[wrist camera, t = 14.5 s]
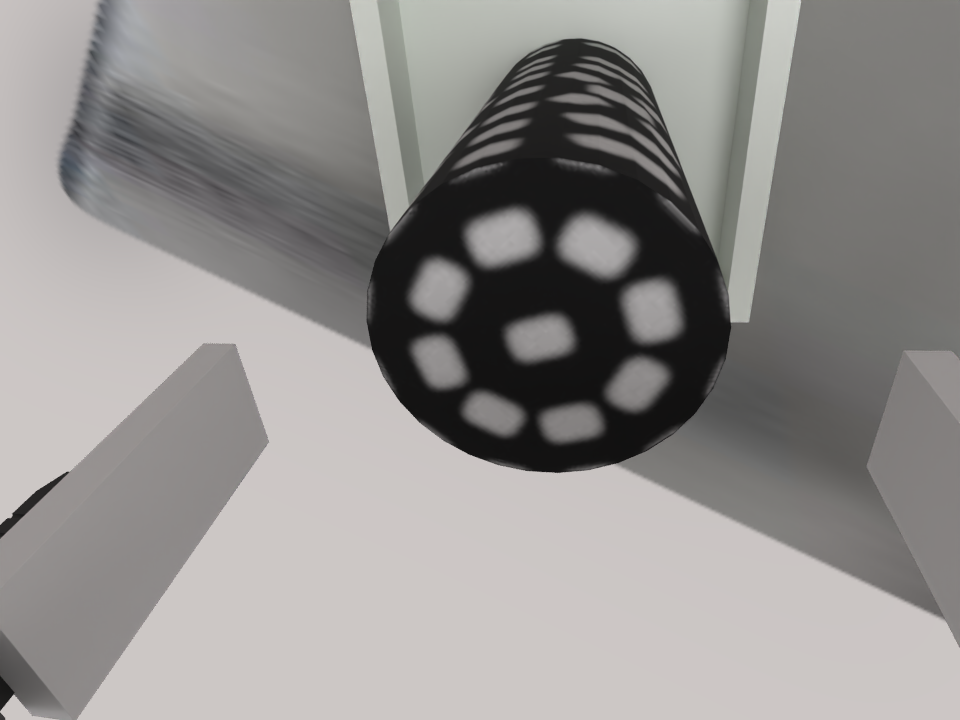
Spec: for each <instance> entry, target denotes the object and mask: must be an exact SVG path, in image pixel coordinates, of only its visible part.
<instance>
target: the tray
mask: <svg viewBox="0 0 960 720" xmlns="http://www.w3.org/2000/svg"><path fill="white" fill-rule="evenodd" d="M349 1H350V7H351V12H352V18H353V24H354V29H355V35H356V41H357V46H358V52H359V58H360V63H361V69H362V75H363V80H364V86H365V92H366V97H367V103H368V109H369V114H370V120H371V126H372V131H373V137H374V143H375V148H376V154H377V160H378V165H379V171H380V177H381V182H382V188H383V194H384V199H385V205H386V211H387V216H388V222H389V227H390V231H391V230H392V229H393V227H394V226H395V225H396V223H397V222H398V221H399V219H400V218H401V217H402V215H403V214H404V213H405V211H406V210H407V209H408V207H409V206H410V204H411V203H412V202H413V200H414V199H415V198H416V196H417V195H418V194H419V192H420V191H421V190H422V188H423V187H424V186H425V184H426V183H427V182H428V180H429V179H430V177H431V176H432V175H433V173H434V172H435V171H436V169H437V168H438V167H439V165H440V164H441V163H442V161H443V160H444V159H445V157H446V156H447V155H448V153H449V152H450V150H451V149H452V148H453V146H454V145H455V144H456V142H457V141H458V140H459V138H460V137H461V136H462V134H463V133H464V132H465V130H466V129H467V127H468V126H469V125H470V123H471V122H472V121H473V119H474V118H475V117H476V115H477V114H478V113H479V111H480V110H481V109H482V107H483V106H484V105H485V103H486V102H487V100H488V99H489V98H490V96H491V95H492V94H493V92H494V91H495V90H496V88H497V87H498V86H499V84H500V83H501V82H502V80H503V79H504V78H505V76H506V75H507V74H508V73H509V72H510V70H511V69H512V68H513V67H514V66H515V64H516V63H518V62H519V61H520V60H521V59H522V58H524V57H525V56H526V55H527V54H529V53H530V52H532V51H534V50H536V49H537V48H539V47H541V46H543V45H545V44H548V43H552V42H555V41H559V40H562V39H576V38H583V39H589V40H595V41H600V42H602V43H605V44H607V45H610V46H612V47H615V48H616V49H618V50H619V51H621V52H622V53H624V54H625V55H627V56H628V57H629V58H630V59H631V60H632V61H633V62H634V63H635V64H636V65H637V66H638V67H639V68H640V69H641V71H642V72H643V74H644V76H645V77H646V79H647V81H648V82H649V84H650V86H651V88H652V91H653V94H654V96H655V99H656V101H657V104H658V107H659V109H660V112H661V114H662V117H663V120H664V122H665V125H666V127H667V130H668V132H669V135H670V138H671V140H672V143H673V145H674V148H675V151H676V153H677V156H678V158H679V161H680V164H681V166H682V169H683V171H684V174H685V177H686V179H687V182H688V184H689V187H690V190H691V192H692V195H693V197H694V200H695V203H696V205H697V208H698V210H699V213H700V216H701V218H702V221H703V223H704V226H705V229H706V231H707V234H708V236H709V239H710V242H711V244H712V247H713V249H714V252H715V255H716V257H717V260H718V263H719V266H720V269H721V272H722V275H723V278H724V281H725V285H726V288H727V291H728V294H729V306H730V321H731V322H749V318H750V312H751V306H752V300H753V294H754V287H755V281H756V275H757V269H758V263H759V257H760V251H761V245H762V238H763V232H764V226H765V220H766V214H767V208H768V202H769V195H770V189H771V183H772V177H773V171H774V165H775V159H776V152H777V146H778V140H779V134H780V128H781V122H782V116H783V110H784V103H785V97H786V91H787V85H788V79H789V73H790V67H791V60H792V54H793V48H794V42H795V36H796V30H797V24H798V17H799V11H800V5H801V0H349Z"/></svg>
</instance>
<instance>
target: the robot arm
mask: <svg viewBox="0 0 960 720" xmlns="http://www.w3.org/2000/svg"><path fill="white" fill-rule="evenodd" d="M268 443H269V440H268V437H267V434H266V432H265V429H264V426H263V423H262V420H261V417H260V414H259V411H258V409H257V406H256V403H255V400H254V397H253V394H252V391H251V388H250V385H249V383H248V379H247V377H246V374H245V371H244V368H243V365H242V362H241V359H240V356H239V353H238V351H237V348H236V345H235V344H203V345H202V346H201V347H200V348H198V349H197V350H196V351H195V352H194V353H193V354H192V355H191V356H190V357H189V358H188V359H187V360H186V361H185V362H184V363H183V364H182V365H181V366H180V367H179V368H178V369H177V370H176V371H175V372H173V374H172V375H170V376H169V377H168V378H167V379H166V380H165V381H164V382H163V383H162V384H161V385H160V386H159V387H158V388H157V389H156V390H155V391H154V392H153V393H152V394H151V395H149V396H148V397H147V398H146V399H145V400H144V401H143V402H142V403H141V404H140V405H139V406H138V407H137V408H136V409H135V410H134V411H133V412H132V413H131V414H130V415H129V416H128V417H127V418H126V419H124V420H123V422H121V423H120V424H119V425H118V426H117V427H116V428H115V429H114V430H113V431H112V432H111V433H110V434H109V435H108V436H107V437H106V438H105V439H104V440H103V441H102V442H101V443H99V444H98V445H97V446H96V448H94V449H93V450H92V451H91V452H90V453H89V454H88V455H87V456H86V457H85V458H84V459H83V460H82V461H81V462H80V463H79V464H78V465H77V466H76V467H75V468H74V469H73V470H71V471H70V472H66V473H64V474H63V475H61V476H60V477H58V478H56V479H55V480H53V481H52V482H50V483H48V484H47V485H45V486H44V487H42V488H40V489H39V490H37V491H36V492H35V493H34V494H33V495H32V496H31V497H30V498H28V499H27V500H26V501H25V502H24V503H23V504H22V505H21V506H20V507H19V508H18V509H17V510H16V511H15V512H14V513H13V516H12V518H7V519H6V520H5V521H4V522H3V523H2V524H1V525H0V711H1V709H2V708H3V707H4V706H5V704H6V703H7V702H8V701H9V699H10V698H11V697H12V696H13V694H14V695H15V696H16V697H17V698H18V699H19V701H20V702H21V703H22V704H23V705H24V706H25V708H26V709H27V710H28V711H29V712H30V713H31V714H32V716H39V717H46V718H53V719H59V720H77V718H78V717H79V715H80V714H81V712H82V711H83V709H84V708H85V707H86V705H87V704H88V702H89V701H90V699H91V698H92V696H93V695H94V694H95V692H96V691H97V689H98V688H99V686H100V685H101V684H102V682H103V681H104V679H105V678H106V676H107V675H108V673H109V672H110V671H111V669H112V668H113V666H114V665H115V663H116V662H117V660H118V659H119V658H120V656H121V655H122V653H123V651H124V650H125V649H126V647H127V646H128V644H129V643H130V642H131V640H132V639H133V637H134V636H135V634H136V633H137V632H138V630H139V629H140V627H141V626H142V624H143V623H144V622H145V620H146V619H147V617H148V616H149V614H150V613H151V611H152V610H153V608H154V607H155V606H156V604H157V603H158V601H159V600H160V598H161V597H162V595H163V594H164V593H165V591H166V590H167V588H168V587H169V585H170V584H171V583H172V581H173V580H174V578H175V577H176V575H177V574H178V572H179V571H180V569H181V568H182V567H183V565H184V564H185V562H186V561H187V560H188V558H189V556H190V555H191V554H192V552H193V551H194V549H195V548H196V546H197V545H198V544H199V542H200V541H201V539H202V538H203V536H204V535H205V534H206V532H207V531H208V529H209V528H210V526H211V525H212V523H213V522H214V521H215V519H216V518H217V516H218V515H219V513H220V512H221V510H222V509H223V507H224V506H225V505H226V503H227V502H228V500H229V499H230V497H231V496H232V495H233V493H234V492H235V490H236V489H237V487H238V486H239V485H240V483H241V482H242V480H243V479H244V477H245V476H246V474H247V473H248V472H249V470H250V469H251V467H252V465H253V464H254V463H255V461H256V460H257V459H258V457H259V456H260V454H261V453H262V451H263V450H264V448H265V447H266V446H267V444H268ZM867 469H868V471H869V473H870V475H871V477H872V479H873V481H874V483H875V484H876V486H877V488H878V490H879V492H880V494H881V496H882V498H883V500H884V502H885V504H886V506H887V508H888V510H889V512H890V513H891V515H892V517H893V519H894V521H895V523H896V525H897V527H898V529H899V531H900V533H901V535H902V537H903V539H904V541H905V543H906V544H907V546H908V548H909V550H910V552H911V554H912V556H913V558H914V560H915V562H916V564H917V566H918V568H919V570H920V572H921V573H922V575H923V577H924V579H925V581H926V583H927V585H928V587H929V589H930V591H931V593H932V595H933V597H934V599H935V601H936V602H937V604H938V606H939V608H940V610H941V612H942V614H943V616H944V618H945V620H946V622H947V624H948V626H949V628H950V630H951V631H952V633H953V635H954V637H955V639H956V641H957V643H958V645H959V647H960V360H959V358H958V357H957V356H956V355H955V354H954V353H953V352H952V351H907V350H904V351H903V354H902V357H901V360H900V363H899V366H898V369H897V373H896V376H895V379H894V382H893V385H892V388H891V391H890V395H889V398H888V401H887V404H886V407H885V410H884V413H883V417H882V420H881V423H880V426H879V429H878V432H877V435H876V438H875V442H874V445H873V448H872V451H871V454H870V457H869V460H868V464H867ZM0 720H5V717H4V716H3V715H2V714H1V713H0Z"/></svg>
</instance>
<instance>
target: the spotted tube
mask: <svg viewBox="0 0 960 720" xmlns="http://www.w3.org/2000/svg"><path fill="white" fill-rule="evenodd" d="M367 325H368V330H369V336H370V341H371V346H372V350H373V353H374V355H375V358H376V360H377V362H378V365H379V367H380V370H381V372H382V374H383V377H384V378H385V380H386V381H387V383H388V384H389V386H390V388H391V389H392V391H393V392H394V394H395V395H396V397H397V398H398V400H399V401H400V402H401V403H402V404H403V405H404V406H405V407H406V409H408V411H409V412H410V413H411V414H412V415H413V416H414V417H415V418H416V419H417V420H418V421H419V422H420V423H421V424H422V425H424V426H425V427H426V428H428V429H429V430H430V431H431V432H433V433H434V434H435V435H437V436H438V437H439V438H441V439H442V440H444V441H445V442H447V443H449V444H451V445H453V446H454V447H456V448H458V449H460V450H462V451H464V452H466V453H467V454H469V455H472V456H475V457H478V458H480V459H483V460H486V461H489V462H492V463H494V464H497V465H501V466H506V467H511V468H516V469H521V470H525V471H537V472H555V473H561V472H572V471H584V470H591V469H595V468H599V467H603V466H607V465H611V464H616V463H619V462H622V461H624V460H626V459H629V458H631V457H633V456H636V455H638V454H641V453H643V452H645V451H647V450H649V449H651V448H652V447H654V446H655V445H657V444H658V443H660V442H662V441H663V440H665V439H666V438H668V437H669V436H671V435H673V434H674V433H675V432H676V431H677V430H678V429H679V428H680V427H681V426H682V425H683V424H684V423H685V422H686V421H688V420H689V419H690V418H691V417H692V416H693V415H694V414H695V413H696V412H697V410H698V409H699V407H700V406H701V405H702V403H703V402H704V400H705V399H706V398H707V396H708V395H709V393H710V392H711V391H712V389H713V387H714V385H715V383H716V380H717V378H718V376H719V373H720V371H721V369H722V366H723V364H724V362H725V359H726V354H727V348H728V342H729V336H730V330H731V321H730V306H729V294H728V291H727V288H726V285H725V281H724V278H723V275H722V272H721V269H720V266H719V263H718V260H717V257H716V255H715V252H714V249H713V247H712V244H711V242H710V239H709V236H708V234H707V231H706V229H705V226H704V223H703V221H702V218H701V216H700V213H699V210H698V208H697V205H696V203H695V200H694V197H693V195H692V192H691V190H690V187H689V184H688V182H687V179H686V177H685V174H684V171H683V169H682V166H681V164H680V161H679V158H678V156H677V153H676V151H675V148H674V145H673V143H672V140H671V138H670V135H669V132H668V130H667V127H666V125H665V122H664V120H663V117H662V114H661V112H660V109H659V107H658V104H657V101H656V99H655V96H654V94H653V91H652V88H651V86H650V84H649V82H648V81H647V79H646V77H645V76H644V74H643V72H642V71H641V69H640V68H639V67H638V66H637V65H636V64H635V63H634V62H633V61H632V60H631V59H630V58H629V57H628V56H627V55H625V54H624V53H622V52H621V51H619V50H618V49H616V48H615V47H612V46H610V45H607V44H605V43H602V42H600V41H595V40H589V39H583V38H576V39H562V40H559V41H555V42H552V43H548V44H545V45H543V46H541V47H539V48H537V49H536V50H534V51H532V52H530V53H529V54H527V55H526V56H525V57H524V58H522V59H521V60H520V61H519V62H518V63H516V64H515V66H514V67H513V68H512V69H511V70H510V72H509V73H508V74H507V75H506V76H505V78H504V79H503V80H502V82H501V83H500V84H499V86H498V87H497V88H496V90H495V91H494V92H493V94H492V95H491V96H490V98H489V99H488V100H487V102H486V103H485V105H484V106H483V107H482V109H481V110H480V111H479V113H478V114H477V115H476V117H475V118H474V119H473V121H472V122H471V123H470V125H469V126H468V127H467V129H466V130H465V132H464V133H463V134H462V136H461V137H460V138H459V140H458V141H457V142H456V144H455V145H454V146H453V148H452V149H451V150H450V152H449V153H448V155H447V156H446V157H445V159H444V160H443V161H442V163H441V164H440V165H439V167H438V168H437V169H436V171H435V172H434V173H433V175H432V176H431V177H430V179H429V180H428V182H427V183H426V184H425V186H424V187H423V188H422V190H421V191H420V192H419V194H418V195H417V196H416V198H415V199H414V200H413V202H412V203H411V204H410V206H409V207H408V209H407V210H406V211H405V213H404V214H403V215H402V217H401V218H400V219H399V221H398V222H397V223H396V225H395V226H394V227H393V229H392V230H391V231H390V233H389V235H388V237H387V239H386V241H385V243H384V245H383V247H382V249H381V251H380V252H379V254H378V256H377V258H376V260H375V263H374V267H373V271H372V275H371V279H370V283H369V287H368V291H367Z"/></svg>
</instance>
